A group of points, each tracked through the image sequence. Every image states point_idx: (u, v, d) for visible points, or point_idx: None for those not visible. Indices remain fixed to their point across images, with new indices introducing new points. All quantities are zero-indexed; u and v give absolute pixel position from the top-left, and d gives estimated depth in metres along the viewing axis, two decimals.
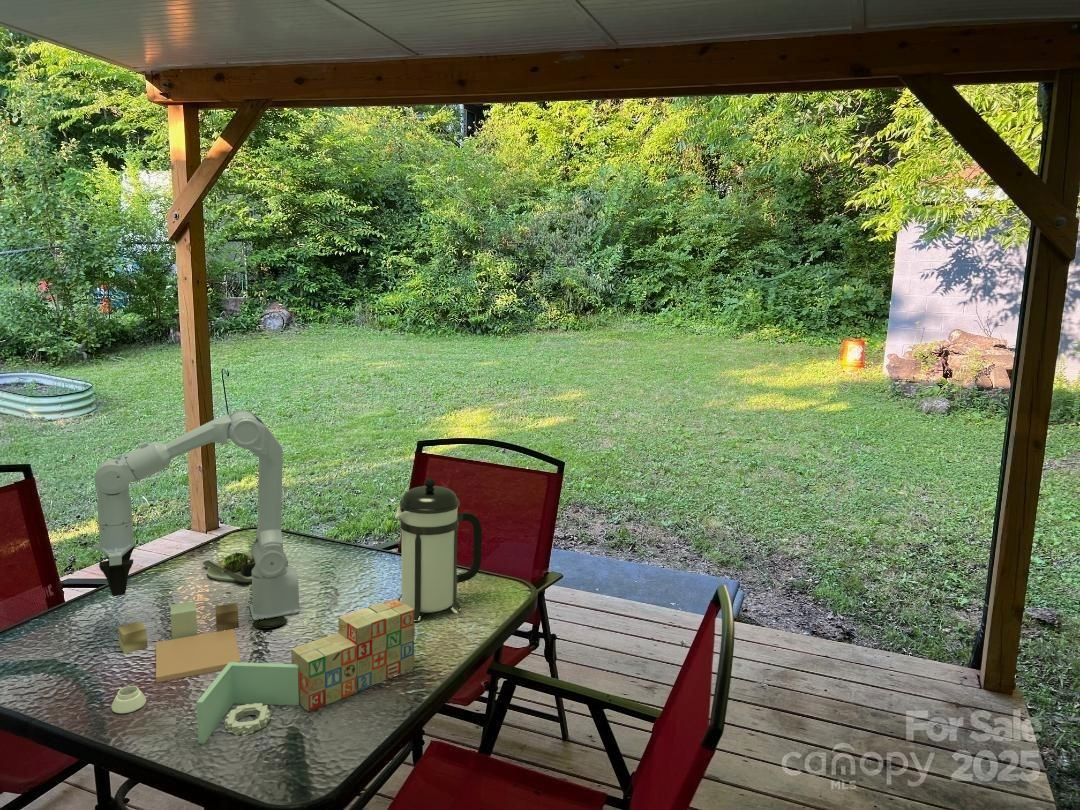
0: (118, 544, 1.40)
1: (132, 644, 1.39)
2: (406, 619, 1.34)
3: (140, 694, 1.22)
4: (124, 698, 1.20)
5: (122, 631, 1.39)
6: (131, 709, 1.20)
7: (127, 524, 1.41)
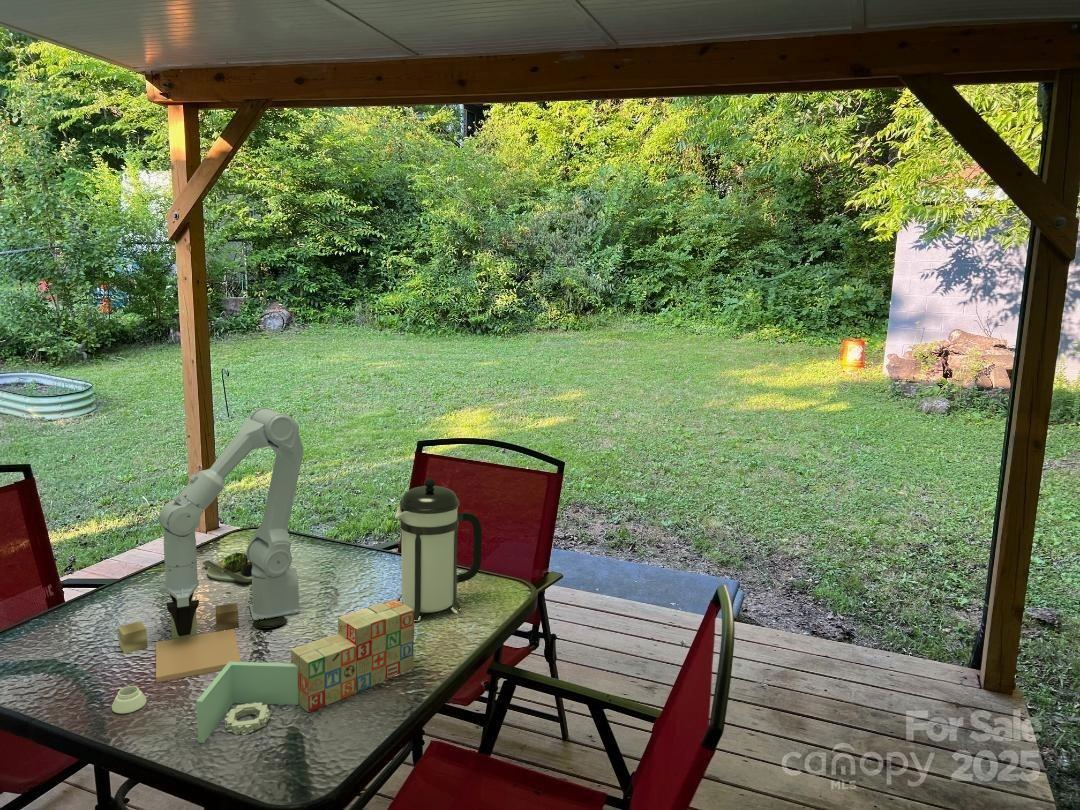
0: (184, 585, 1.42)
1: (132, 644, 1.39)
2: (406, 619, 1.34)
3: (140, 694, 1.22)
4: (124, 698, 1.20)
5: (122, 631, 1.39)
6: (131, 709, 1.20)
7: (192, 565, 1.43)
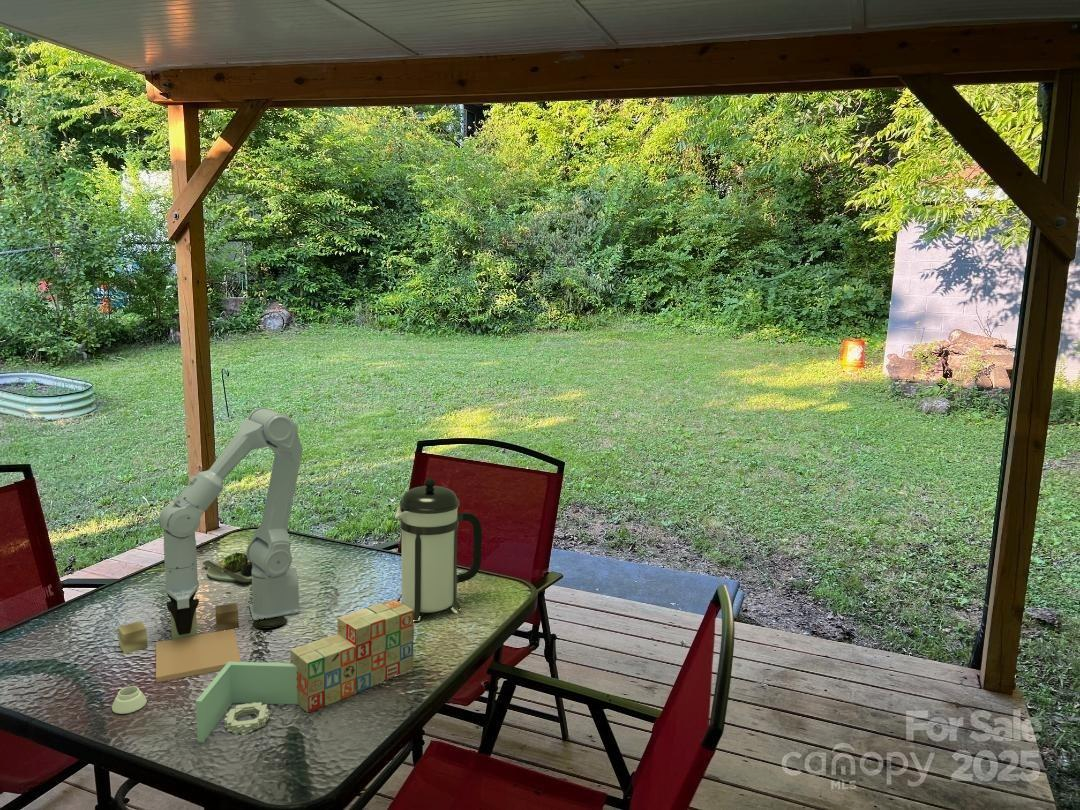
0: (184, 587, 1.42)
1: (132, 644, 1.39)
2: (406, 620, 1.34)
3: (140, 694, 1.22)
4: (124, 698, 1.20)
5: (122, 631, 1.39)
6: (132, 709, 1.20)
7: (193, 566, 1.43)
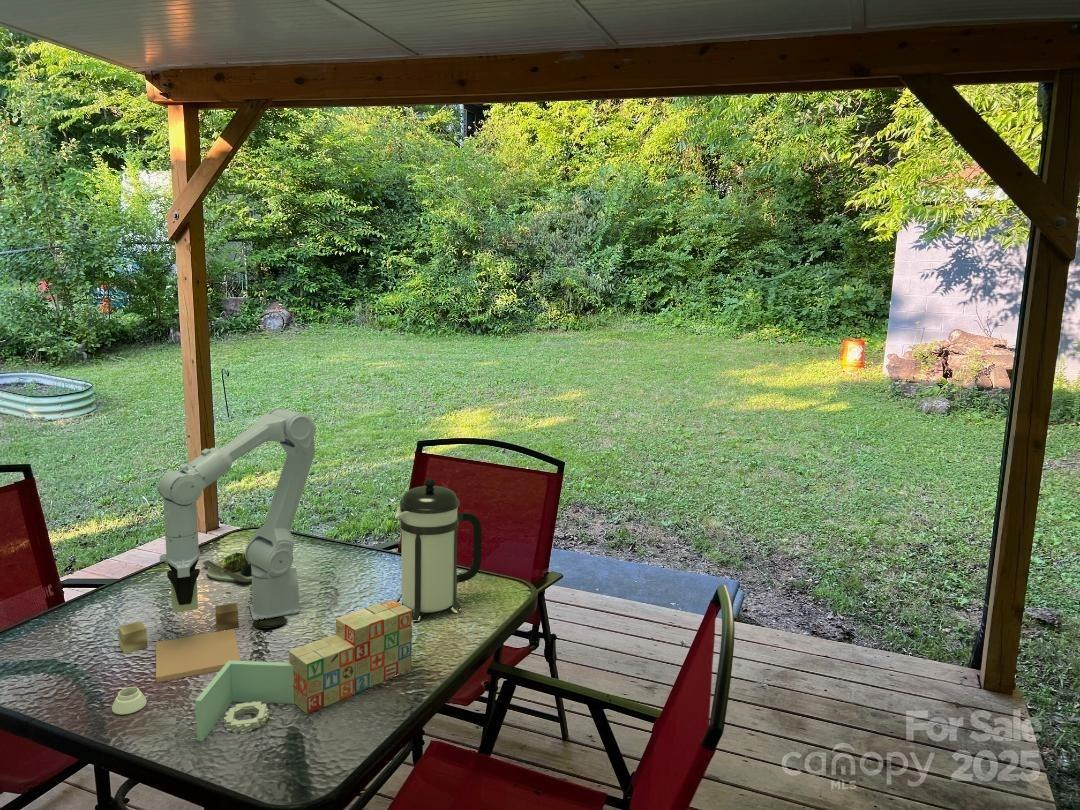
0: (184, 556, 1.40)
1: (132, 644, 1.39)
2: (404, 620, 1.34)
3: (140, 695, 1.22)
4: (124, 699, 1.20)
5: (122, 631, 1.39)
6: (132, 710, 1.20)
7: (193, 535, 1.41)
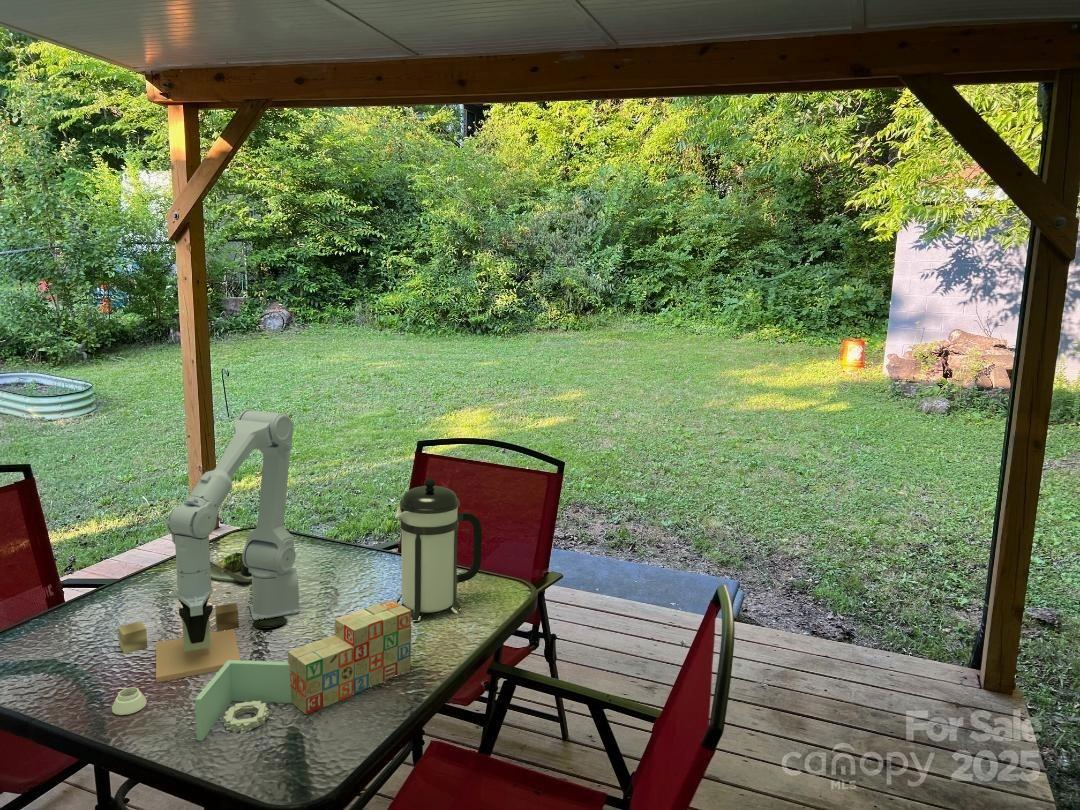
0: (197, 593, 1.34)
1: (132, 644, 1.39)
2: (403, 620, 1.34)
3: (140, 696, 1.22)
4: (124, 700, 1.20)
5: (122, 631, 1.39)
6: (132, 710, 1.20)
7: (206, 571, 1.35)
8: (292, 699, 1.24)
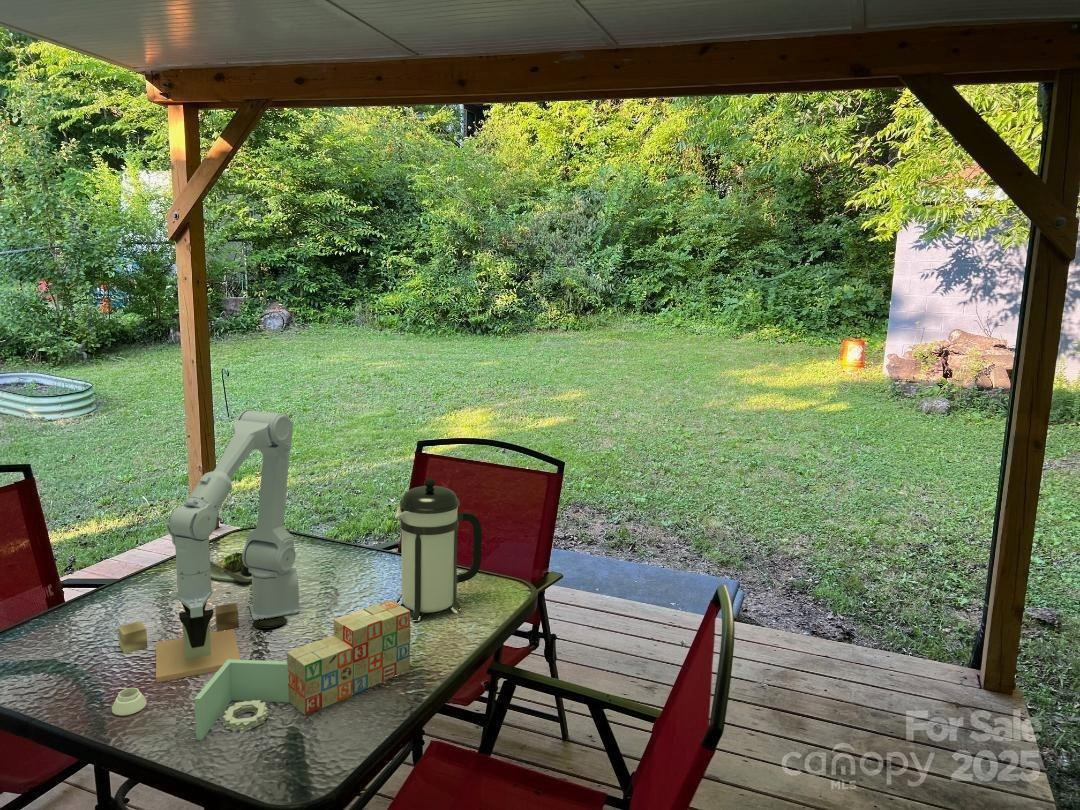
0: (197, 594, 1.34)
1: (132, 644, 1.39)
2: (402, 621, 1.33)
3: (140, 696, 1.22)
4: (124, 700, 1.20)
5: (122, 631, 1.39)
6: (132, 711, 1.20)
7: (206, 572, 1.35)
8: (291, 700, 1.24)
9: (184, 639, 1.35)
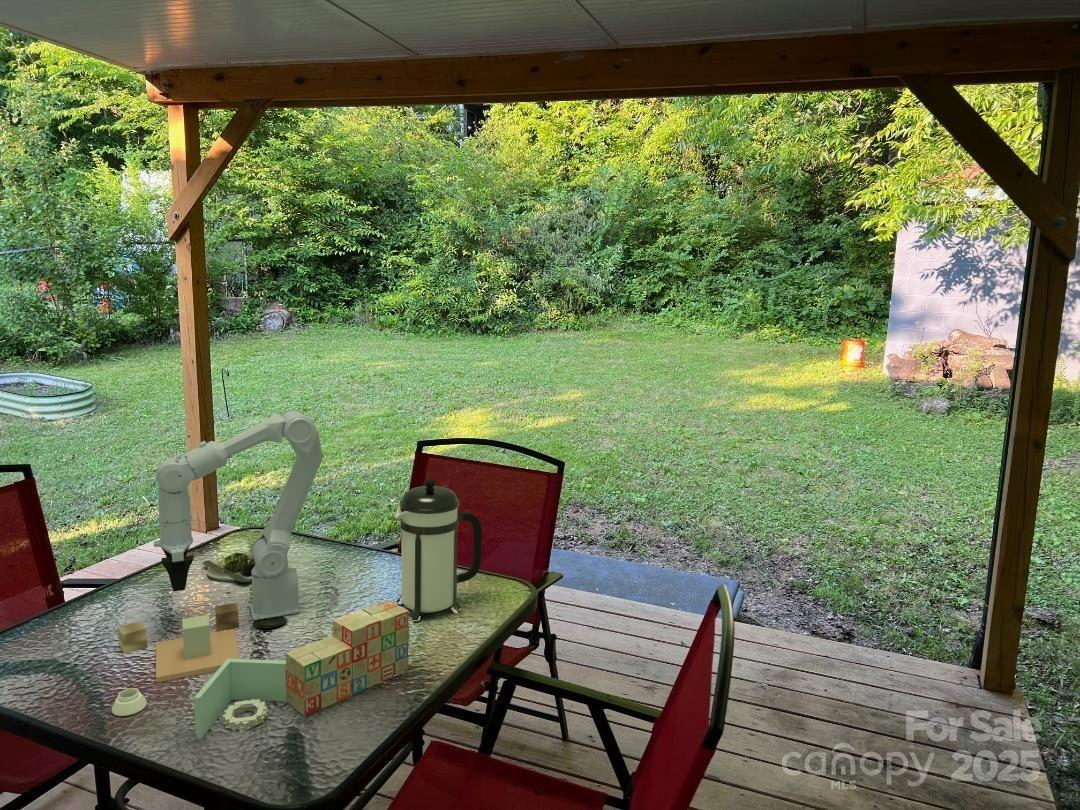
0: (178, 541, 1.45)
1: (132, 644, 1.39)
2: (401, 621, 1.33)
3: (140, 696, 1.22)
4: (124, 701, 1.20)
5: (122, 631, 1.39)
6: (132, 711, 1.20)
7: (187, 521, 1.46)
8: (290, 700, 1.24)
9: (184, 639, 1.35)
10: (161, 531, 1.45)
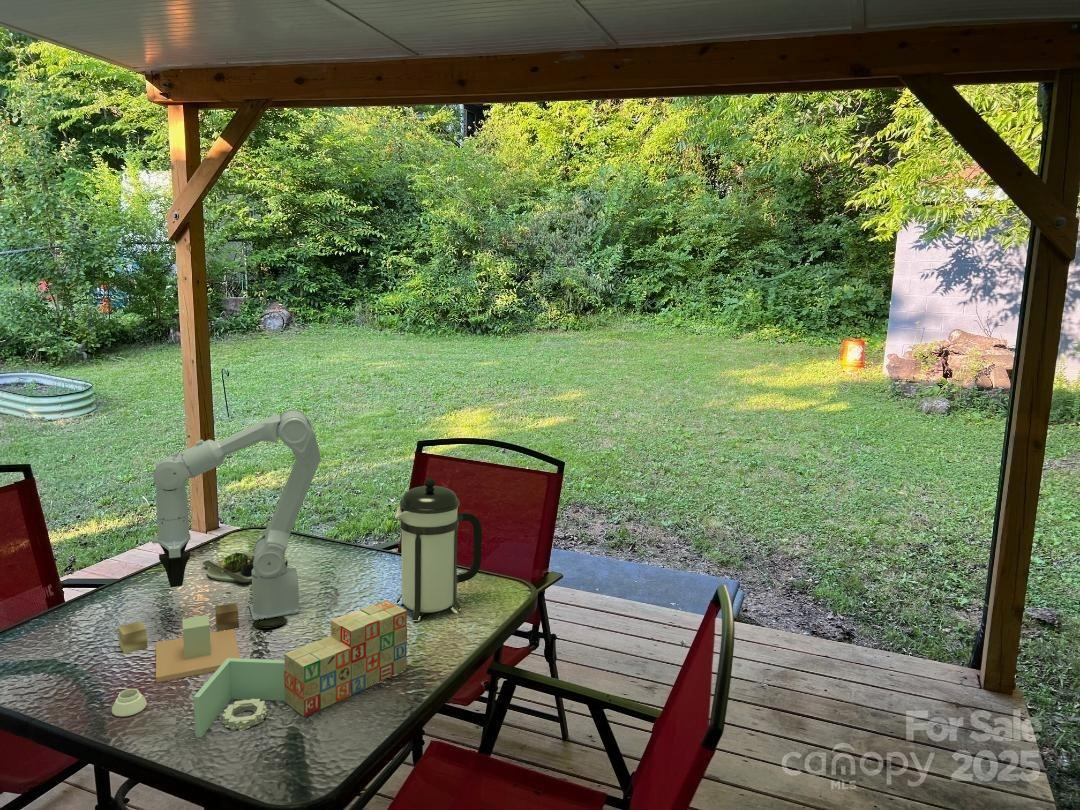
0: (175, 538, 1.47)
1: (132, 644, 1.39)
2: (399, 620, 1.33)
3: (141, 697, 1.21)
4: (124, 701, 1.20)
5: (122, 631, 1.39)
6: (132, 712, 1.19)
7: (184, 518, 1.48)
8: (289, 701, 1.24)
9: (184, 639, 1.35)
10: (159, 528, 1.46)
